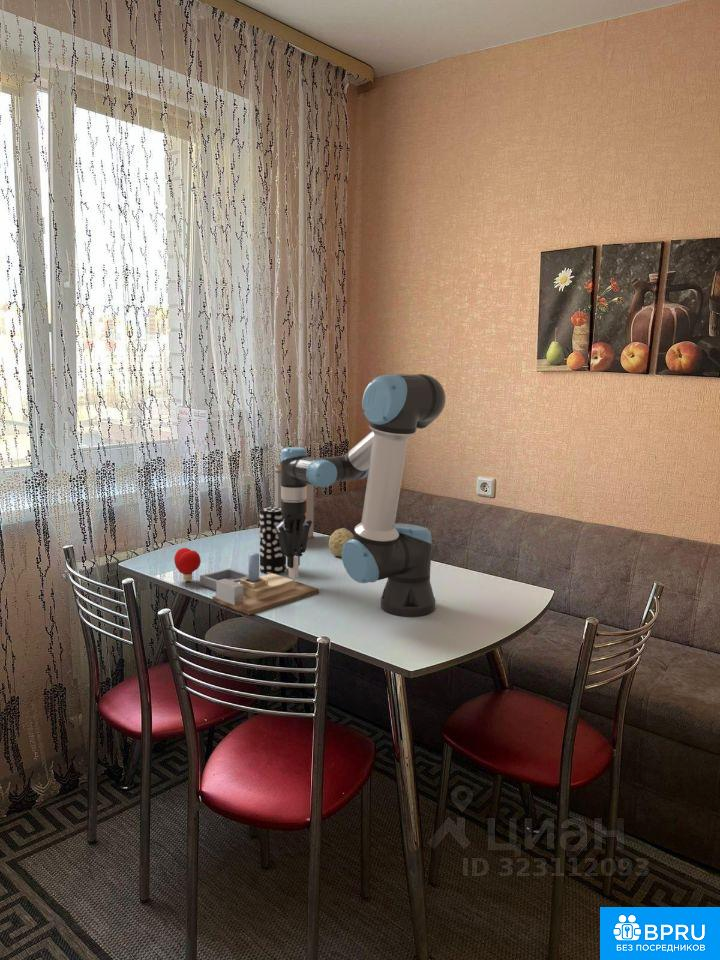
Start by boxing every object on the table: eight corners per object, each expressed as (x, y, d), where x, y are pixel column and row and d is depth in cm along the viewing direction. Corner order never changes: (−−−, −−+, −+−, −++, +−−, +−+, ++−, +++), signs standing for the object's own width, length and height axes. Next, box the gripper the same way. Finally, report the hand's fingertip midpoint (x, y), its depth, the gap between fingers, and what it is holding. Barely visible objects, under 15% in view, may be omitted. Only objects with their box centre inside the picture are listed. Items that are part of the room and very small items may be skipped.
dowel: (261, 584, 207) (261, 554, 205) (253, 587, 204) (252, 556, 203) (254, 582, 209) (254, 552, 207) (246, 584, 206) (246, 554, 205)
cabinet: (278, 548, 259) (278, 471, 254) (257, 544, 264) (257, 468, 259) (313, 537, 276) (313, 464, 271) (293, 533, 281) (293, 461, 276)
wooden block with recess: (294, 588, 212) (294, 575, 211) (257, 600, 201) (257, 586, 201) (271, 581, 218) (271, 568, 218) (234, 591, 208) (234, 578, 207)
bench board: (318, 592, 212) (318, 588, 212) (248, 615, 193) (248, 610, 193) (282, 580, 223) (282, 576, 223) (212, 600, 204) (212, 596, 204)
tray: (252, 585, 217) (252, 575, 217) (222, 594, 209) (222, 584, 209) (229, 577, 225) (229, 568, 224) (200, 585, 217) (199, 575, 216)
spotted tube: (281, 575, 228) (281, 512, 225) (256, 573, 230) (255, 511, 226) (289, 567, 236) (289, 507, 233) (264, 565, 238) (264, 505, 234)
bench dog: (243, 602, 199) (243, 585, 198) (234, 605, 197) (234, 587, 196) (225, 595, 204) (225, 578, 204) (216, 598, 202) (216, 580, 201)
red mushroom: (206, 582, 219) (206, 550, 218) (186, 587, 214) (186, 554, 213) (189, 576, 226) (188, 544, 224) (169, 580, 221) (168, 548, 219)
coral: (362, 533, 255) (353, 527, 246) (355, 561, 253) (345, 557, 244) (337, 528, 258) (327, 522, 249) (330, 556, 256) (320, 551, 247)
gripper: (301, 495, 221) (301, 570, 225) (268, 501, 212) (268, 579, 216) (318, 498, 216) (317, 575, 220) (285, 504, 207) (285, 584, 211)
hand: (293, 577), depth 218 cm, fingers closed
